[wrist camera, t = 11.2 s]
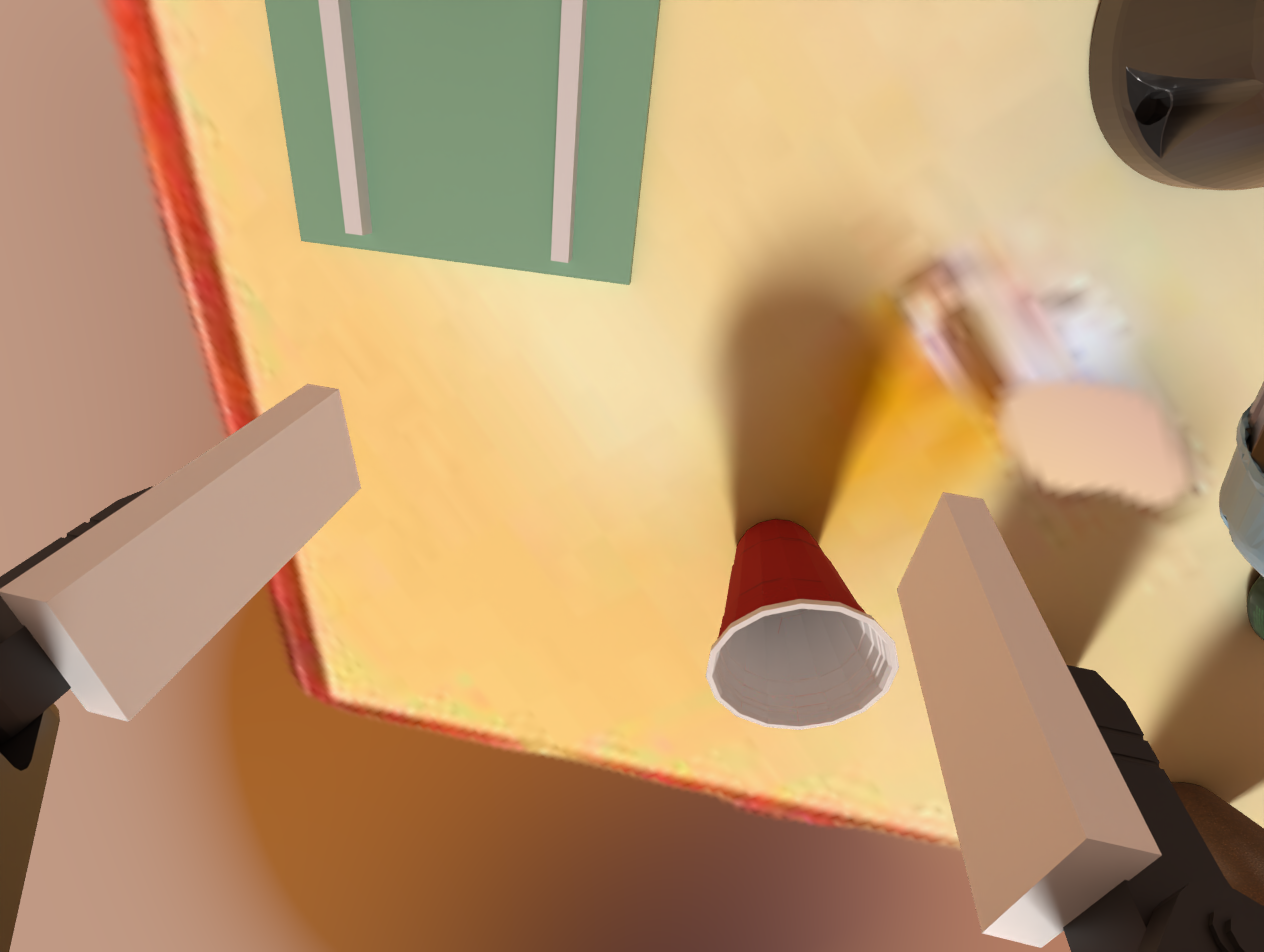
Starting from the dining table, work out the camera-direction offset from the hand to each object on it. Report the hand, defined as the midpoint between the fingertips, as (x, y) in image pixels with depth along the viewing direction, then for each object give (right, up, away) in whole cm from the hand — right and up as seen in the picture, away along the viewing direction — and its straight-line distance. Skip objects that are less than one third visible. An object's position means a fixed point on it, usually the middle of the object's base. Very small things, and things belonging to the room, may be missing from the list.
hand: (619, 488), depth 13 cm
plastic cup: (+11, -5, +31) cm, 34 cm away
